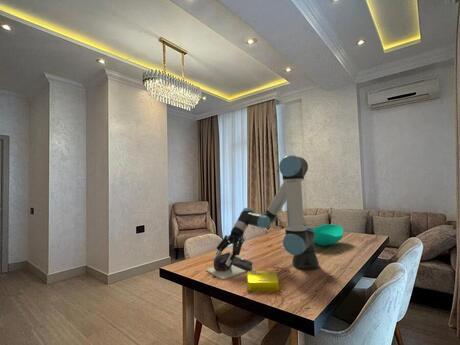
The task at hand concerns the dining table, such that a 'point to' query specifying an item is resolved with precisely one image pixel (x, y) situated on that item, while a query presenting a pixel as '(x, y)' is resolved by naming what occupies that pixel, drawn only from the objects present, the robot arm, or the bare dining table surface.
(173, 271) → the dining table surface
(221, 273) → the felt mat
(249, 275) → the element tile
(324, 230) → the table top decor
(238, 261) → the metal rail
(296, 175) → the robot arm
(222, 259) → the rock
